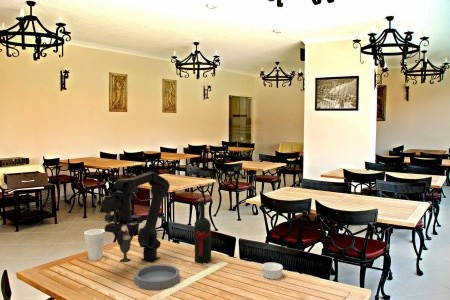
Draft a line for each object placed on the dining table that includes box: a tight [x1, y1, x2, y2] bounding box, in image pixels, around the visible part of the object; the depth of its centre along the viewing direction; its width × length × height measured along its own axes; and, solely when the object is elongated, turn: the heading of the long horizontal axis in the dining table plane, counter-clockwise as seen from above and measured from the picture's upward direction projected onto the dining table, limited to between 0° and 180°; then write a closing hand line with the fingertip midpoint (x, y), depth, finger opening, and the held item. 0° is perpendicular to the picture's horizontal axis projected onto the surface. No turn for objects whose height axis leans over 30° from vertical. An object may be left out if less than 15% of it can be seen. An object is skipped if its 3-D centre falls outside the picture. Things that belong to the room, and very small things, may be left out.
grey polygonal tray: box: [134, 264, 181, 291], centre depth 160 cm, size 18×18×3 cm
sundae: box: [119, 227, 134, 263], centre depth 169 cm, size 7×7×15 cm
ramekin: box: [261, 262, 284, 280], centre depth 164 cm, size 9×9×4 cm
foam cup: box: [83, 228, 106, 261], centre depth 187 cm, size 10×9×13 cm
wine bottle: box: [194, 197, 212, 265], centre depth 180 cm, size 8×10×30 cm
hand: (125, 242), depth 169 cm, fingers closed on sundae, 6 cm apart
